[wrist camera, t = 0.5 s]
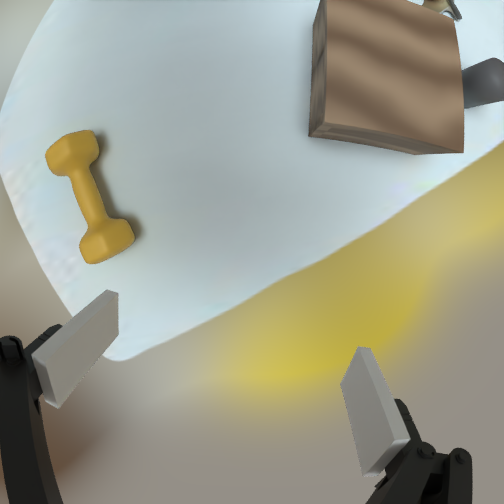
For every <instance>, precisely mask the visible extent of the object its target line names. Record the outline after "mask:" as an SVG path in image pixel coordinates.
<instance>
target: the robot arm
mask: <svg viewBox="0 0 504 504" xmlns="http://www.w3.org/2000/svg"><path fill="white" fill-rule="evenodd" d="M118 335H119V332H118V293H116V292H113V291H110V290H105V291H104V292H103V293H102V294H101V295H99V296H98V297H97V298H96V299H95V300H93V301H92V302H91V303H90V304H89V305H87V306H86V307H85V308H84V309H83V310H81V311H80V312H79V313H78V314H77V315H75V316H74V317H73V318H72V319H71V320H70V321H69V322H67V323H66V324H65V325H64V326H62V325H60V324H57V325H54V326H52V327H49V328H48V329H47V330H46V331H45V332H44V333H43V334H41V335H40V336H39V337H38V338H36V339H35V340H34V341H33V342H32V343H31V344H29V345H28V346H27V347H26V348H25V349H24V350H23V346H22V342H21V340H20V339H19V338H17V337H15V336H4V337H2V338H0V449H1V458H2V466H3V472H4V479H5V484H6V490H7V494H8V499H9V504H63V501H62V498H61V495H60V492H59V489H58V486H57V482H56V479H55V475H54V472H53V468H52V464H51V460H50V456H49V452H48V447H47V442H46V437H45V432H44V426H43V420H42V414H41V407H40V402H39V396H40V395H41V394H42V393H43V395H44V398H45V401H46V402H47V403H49V404H51V405H53V406H54V407H56V408H58V409H59V408H60V406H61V405H62V404H63V403H64V401H65V400H66V399H67V398H68V396H69V395H70V394H71V392H72V391H73V390H74V389H75V387H76V386H77V385H78V384H79V382H80V381H81V380H82V379H83V377H84V376H85V375H86V374H87V372H88V371H89V370H90V369H91V367H92V366H93V365H94V364H95V362H96V361H97V360H98V358H100V356H101V355H102V354H103V353H104V352H105V350H106V349H107V348H108V347H109V346H110V344H111V343H112V342H113V341H114V340H115V338H116V337H117V336H118ZM340 385H341V389H342V392H343V396H344V400H345V403H346V408H347V411H348V415H349V420H350V424H351V428H352V431H353V436H354V440H355V444H356V449H357V453H358V457H359V462H360V467H361V471H362V476H363V477H364V476H378V475H379V474H380V473H381V471H383V469H384V468H385V472H386V476H385V477H384V478H383V479H382V480H381V481H380V482H379V483H378V484H377V485H375V487H377V488H376V489H375V491H374V492H373V494H372V496H371V497H370V498H369V500H368V501H367V503H366V504H472V458H471V455H470V454H469V452H467V451H466V450H464V449H462V448H455V449H453V450H452V451H451V453H450V454H449V455H448V454H442V453H436V450H435V449H434V447H433V446H431V445H430V444H429V443H426V442H422V440H421V438H420V435H419V433H418V431H417V429H416V426H415V424H414V422H413V421H412V417H411V415H409V414H410V413H409V411H408V409H407V406H406V405H405V404H404V403H403V402H402V401H401V400H400V399H394V398H393V396H392V394H391V392H390V389H389V387H388V385H387V383H386V381H385V378H384V376H383V374H382V372H381V370H380V368H379V366H378V363H377V361H376V359H375V357H374V355H373V353H372V351H371V349H370V348H366V347H358V348H357V350H356V352H355V354H354V356H353V359H352V361H351V363H350V365H349V367H348V369H347V371H346V373H345V376H344V377H343V380H342V382H341V384H340Z"/></svg>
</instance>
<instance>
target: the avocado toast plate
mask: <svg viewBox="0 0 504 504" xmlns="http://www.w3.org/2000/svg"><path fill="white" fill-rule="evenodd" d="M422 6H423V7H426V8H428V9H431V10H433V11H436V12H438V13H440V14H442V13H443V12H445V11H450V12H451V13H452V14H453V15H454V16H455V17H456V18H457V19H462V16H461V14H460V12H459V10H458V9H457V7H456V5H455V4H454V0H424V3H423V5H422Z"/></svg>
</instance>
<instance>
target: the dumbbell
mask: <svg viewBox="0 0 504 504" xmlns="http://www.w3.org/2000/svg"><path fill="white" fill-rule="evenodd" d="M98 155H99V146H98V143H97V140H96V137H95V134H94V133H93V131H91V130H82V131H78V132H74V133H70V134H67V135H65V136H63V137H61V138H60V139H59V140H57V141H56V142H55V143H54V144H53V145H52V146H51V147H50V148H49V149H48V150H47V151H46V154H45V158H46V161H47V165H48V167H49V169H50V170H51V172H52V173H53V174H55V175H57V176H68V177H69V178H70V180H71V183H72V188H73V191H74V194H75V197H76V199H77V202H78V205H79V207H80V210H81V212H82V214H83V216H84V218H85V220H86V222H87V224H88V229H87V232H86V233H85V235H84V236H83V237H82V239H81V241H80V244H79V248H80V252H81V254H82V256H83V258H84V260H85V262H86V263H88V264H97V263H100V262H103V261H105V260H107V259H109V258H111V257H113V256H115V255H117V254H119V253H120V252H122V251H124V250H125V249H127V248H128V247H129V246H131V245H132V243H133V242H134V240H135V236H134V233H133V231H132V229H131V227H130V225H129V223H128V222H127V221H126V220H124V219H112V218H110V217H109V216H108V215H107V213H106V210H105V207H104V204H103V201H102V198H101V195H100V193H99V190H98V188H97V185H96V183H95V180H94V178H93V176H92V174H91V172H90V169H89V166H90V164H91V163H92V162H93V161H95V160H96V159H97V157H98Z"/></svg>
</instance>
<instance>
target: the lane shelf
mask: <svg viewBox="0 0 504 504" xmlns="http://www.w3.org/2000/svg"><path fill="white" fill-rule="evenodd" d="M308 137H316V138H324V139H332V140H339V141H345V142H352V143H358V144H364V145H370V146H375V147H380V148H386V149H391V150H396V151H400V152H405V153H409V154H414V155H420V154H444V153H464V98H463V83H462V71H461V62H460V54H459V47H458V41H457V35H456V29H455V24H454V19H452V18H449V17H447V16H445V15H443V14H440V13H438V12H436V11H433V10H431V9H428V8H426V7H423V6H421V5H418V4H415V3H412V2H410V1H407V0H320V3H319V6H318V10H317V13H316V17H315V20H314V24H313V48H312V79H311V101H310V119H309V135H308Z"/></svg>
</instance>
